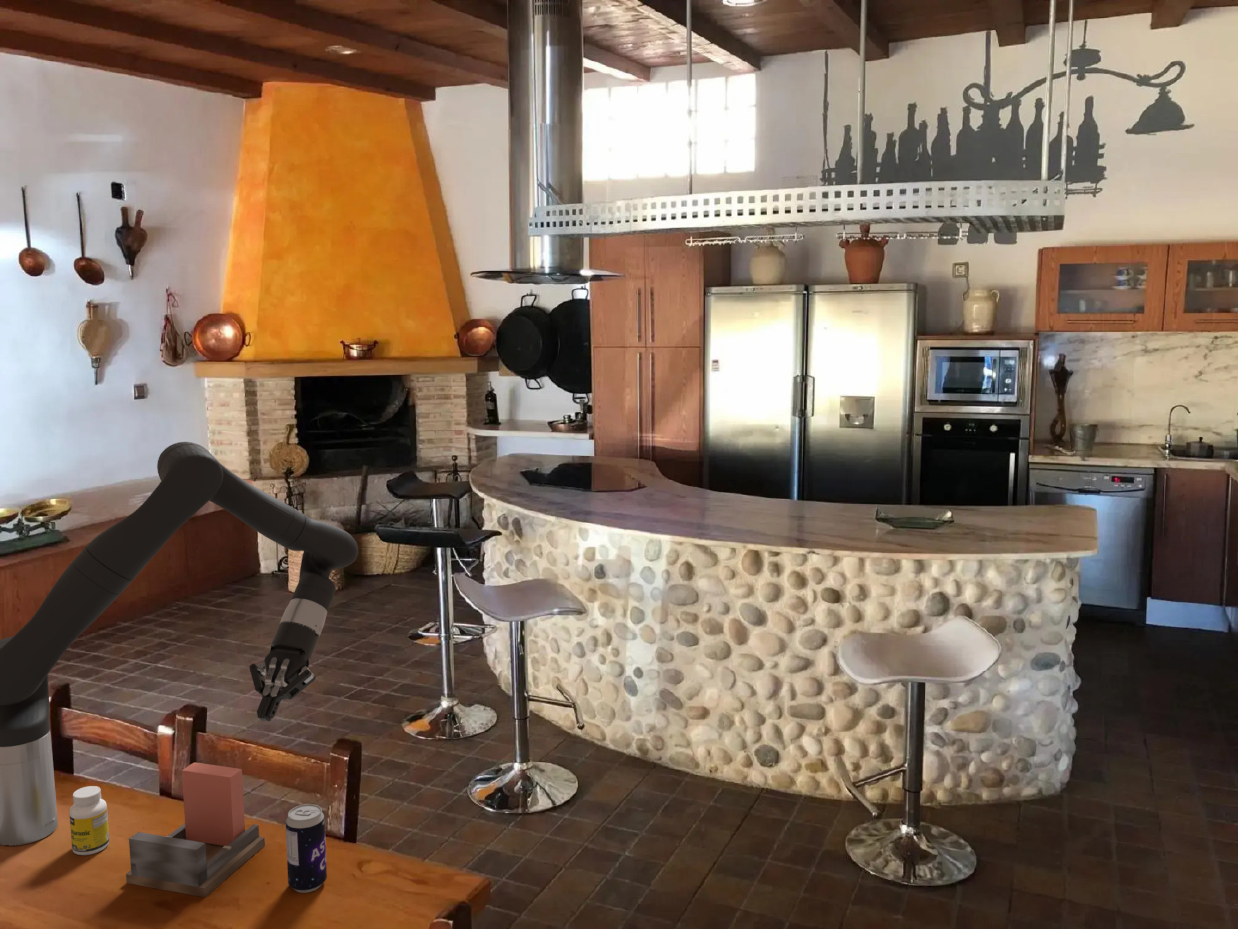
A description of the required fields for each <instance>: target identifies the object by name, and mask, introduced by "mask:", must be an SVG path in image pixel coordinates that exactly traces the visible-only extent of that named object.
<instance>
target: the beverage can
mask: <svg viewBox="0 0 1238 929" xmlns="http://www.w3.org/2000/svg"><path fill="white" fill-rule="evenodd" d="M325 820H326V818H325V815H324V813H323V810H322V807H320V806H319V805H317V804H313V803H306V804H300V805H297V806H295V807H293V808H291V809H290V810H289V811H288V813H287V818H286V820H285V841H286V844H285V845H286V859H287V860H286V863H287V864H286V867H287V884H288V886H289V887H290V888H291V889H293V890H294V891H296V892H297V893H302V894H303V893H305V894H306V893H311V892H314V891H316V890H317V889H319V888H321V886H322V885H323V884H324V883H325V882H326V880H327V878H328V874H327V872H328V871H327V848H326V847H327V846H326V844H327V843H326V821H325Z"/></svg>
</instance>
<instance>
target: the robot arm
mask: <svg viewBox="0 0 1238 929" xmlns="http://www.w3.org/2000/svg"><path fill="white" fill-rule="evenodd" d="M156 467H157V474H158V477H159V479H160V482H159V483H158V485H157V487H156V488H155V489H154V490H153V491H152V492H151V494H150V495H149V496H148V497H147V498H146V500H145V501H143V503H142V504H141V505H140V506H139V507H138V508H137V509H136V510H134V511H133V512H132V513H131V514H129V515H128V516H126V517H124V518H123V519H121V520H120V521H118V522H116V523H115V524H112V526H110V527H108V528H106V529H105V530H104V531H102V532H101V533H99V534H98V535H97V536H96V537H94V538H93V539H92V540H90V542H89V543H88V544H86V546H85V547H84V548H83V549H82V550H81V552H80V553H79V554H77V556H76V557H75V558H74V559H73V560H72V561H71V562H70V564H69V565H68V566H67V567H66V569H65V570H64V571H63V573H62V574H61V575H60V577H59V578H57V581H56V582H55V583H54V584H53V586H52V588H50V591H49V592H48V594H47V595H46V597H45V598H44V600H43V602H41V605H40V606H39V608H38V609H37V610H36V612H35V613H34V615H33V616H32V617H31V618H30V619H29V621H27V623H26V624H25V625H23V627H22V628H20V629H19V631H18V632H16V633H15V635H13V636H9V637H5V638H3V639H0V844H1V845H0V846H5V845H9V846H11V845H12V846H13V845H14V846H21V845H27V844H31V843H34V842H38V841H39V840H42V839H45V837H48V836H50V835H51V834H53V833H54V831H56V829H57V828H58V826H59V825H58V823H59V822H58V821H59V820H58V809H57V798H56V797H57V795H56V786H55V784H56V783H55V772H54V760H53V748H52V735H51V721H50V715H51V714H50V713H51V712H50V711H51V710H50V708H51V707H50V705H51V704H50V702H51V701H50V690H49V676H48V675H49V674H50V672H51V671H52V669H53V668H54V666H56V664H57V663H58V662H59V660H60V659H61V657H63V655H64V653H65V652H66V651H67V650H68V649H69V647H70V646H71V645H72V644H73V643H74V642H75V640H76V639H77V638H79V636H80V635H82V634H83V633H84V632H85V631H86V630H87V629H88V628H89V627H90V626H91V625H92V624H93V623H94V622H96V621H97V619H98V618H99V617H100V616H101V615H102V614H103V613H104V612H105V611H106V610H107V609H108V608H109V607H110V606H111V605H112V603H114V602H115V601H116V600H117V599H118V598H119V597H120V596H121V594H122V593H123V592H124V591H125V590H126V589H127V588H128V587H129V585H130V584H132V583H133V581H134V580H135V579H136V578H137V577H138V575H140V573H141V572H142V571H143V569H144V568H145V567H146V566H147V565H148V563H150V561H152V559H153V558H154V557H155V556H156V555H157V554H158V552H160V550H161V549H162V548H163V547H164V545H165V544H166V543H167V541H169V540H170V538H171V537H172V536H173V535H174V534H175V533H176V532H177V531H178V530H179V529H180V528H182V526H183V525H184V524H185V523H186V522H187V521H188V520H190V519H191V518H192V517H193V516H194V515H195V514H196V513H197V512H199V510H201V509H202V508H204V506H205V505H206V504H208V503H209V502H211V503H213V504H215V505H216V506H218V507H220V508H222V509H223V510H225V511H227V512H229V513H230V514H231V515H232V516H234V517H236V518H237V519H239V521H241V522H243V523H244V524H246V526H249V528H252V529H253V530H255V531H256V532H257V533H259V534H260V535H262V536H264V537H265V538H267V539H268V540H271V541H272V542H275V543H276V544H278V545H280V546H282V547H284V548H285V549H288V550H289V551H294V552H302V557H301V563H300V569H299V576H298V583H297V584H296V587H295V590H294V591H293V594H292V597H291V599H290V601H289V603H288V605H287V606H286V608H285V610H284V612H283V614H282V616H281V618H280V619H281V620H280V621H279V624H278V626H277V629H276V631H275V634H274V636H273V638H272V640H271V643H270V651H269V652H268V654H266V655H265V657H264V661H262V662H260V663H258V664H255V663H251V664H250V665H249V670H250V675H251V678H252V682H253V685H254V690H255V691H256V693H258V694H260V695H261V696H262V698H261V700H260V703H259V705H258V707H257V711H256V716H257V719H259V720H260V721H263V722H271V721H272V719H274V717H275V716H276V714H277V711H278V708H279V706H280V704H281V702H283V701H285V700H289V701H290V700H293V698H295V697H296V696H298V694H300V693H301V692H302V691H303V690H304V689H306V688H307V687H308V686H309V685H310V684H312V683H313V682H314V681H315V680H316V675H315V674H314V673H313V672H312V671H311V670H310V669H309V667H310V659H311V658H312V657H313V655H314V652H315V649H316V647H317V644H318V641H319V640H320V636H321V634H322V631H323V629H324V626H325V623H326V618H327V615H328V611H329V609H330V607H331V605H332V601H333V599H334V596H335V593H336V585H335V583H334V581H333V580H332V579H330V576H331V573H332V571H334V570H338V569H343V568H347V567H348V566H350V565H352V564H353V563H354V562H355V561H356V560H357V558H358V555H359V546H358V543H357V542H356V540H355V538H354V537H353V536H352V535H351V534H350V533H349V532H347V531H346V530H344V529H342V528H340V527H338V526H335V525H332V524H330V523H326V522H323V521H320V520H317V519H315V518H311V517H309V516H307V515H306V514H305V513H304V512H301V511H299V510H297V509H296V508H294V507H293V506H291V505H289V504H287V503H285V502H284V501H282V500H280V499H278V498H276V497H274V496H272V495H271V494H268V493H267V492H265V491H263V490H262V489H260V488H257V487H256V486H254V485H253V484H251V483H249V482H248V481H246V480H245V479H243V478H241V477H239V476H238V475H237V474H235V473H234V472H232V471H231V470H229V469H228V468H227V467H225V465H223V464H222V463H220V461H219V460H218V459H217V458H216V457H215V456H214V455H213V454H212V453H211V452H210V451H209V450H208V449H207V448H205V447H204V446H203V445H201V444H198V443H194V442H192V441H191V442H190V441H182V442H181V441H180V442H175V443H172V444H170V445H169V446H167V447H165V449H164V450H163V451H162V452H161V453H160V455H159V457H158V458H157V464H156ZM265 676H266V677H265ZM12 846H11V847H12Z"/></svg>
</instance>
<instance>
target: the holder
mask: <svg viewBox="0 0 1238 929" xmlns="http://www.w3.org/2000/svg"><path fill="white" fill-rule="evenodd" d="M259 828H260V825H259V824H252V825H251V826H250V827H248V828H247V829H245V831H244V832H243V833H242V834H241V835H239V836H238V837H237V838H236V839H235V840H233V841H232V842H231V843H230V844H228V845H227V846H222V845H216V844H209V843H203V842H197V841H191V840H186V831H185V823H183V824H182V825H180V826H178V828H176V829H175V830H173V831H172V832H171V833H170V834H168V835H159V834H153V833H146V832H140V831H137V832H136V833H134V834H133V835H132V836H130V837H129V838H128V844H129V848H128V849H129V861H130V870H129V871H128V872H127V873H125V878H126V880H125V882H126V884H129V885H136V886H141V887H147V888H150V889H151V888H153V889H156V890H157V889H158V890H162V891H168V892H169V891H170V892H174V893H180V894H184V895H191V896H196V897H201V898H206V897H207V896H208V895H210V894H211V893H212V892H213V891H214V890H216V889H217V888H218V887H219V886H220V885H222V883H223V882H224V881H226V880H227V879H228V878H229V877H230V876H232V875H233V874H234V873H235V872H236V871H237V870H239V869H240V868H241V867H242V866H243V865H244V864H246V863H247V862H248V861H249V860H250V859H252V857H254V856H255V855H256V854H257V853H258V852H259V851H260V850H262V849H263V848H264V847H265V846H266V844H265V842H266V840H265V837H264V836H260V829H259Z"/></svg>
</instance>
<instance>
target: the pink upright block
mask: <svg viewBox="0 0 1238 929" xmlns="http://www.w3.org/2000/svg"><path fill="white" fill-rule="evenodd" d="M181 775H182V776H181V778H182V794H183V797H182V798H183V813H184V824H185V831H186V840H191V841H197V842H203V843H209V844H216V845H222V846H227V845H228V844H230V843H231V842H232V841H233V840H235V839H236V838H237V837H238V836H239V835H241V834H242V833H243V832H244V831H246V823H245V822H246V821H245V803H244V801H245V800H244V799H245V797H244V781H243V769H242V768H236V767H229V766H224V765H215V764H210V763H201V762H193V763H191V764H189V765H188V766H186V767H185V768H183V769H182V770H181Z"/></svg>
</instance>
